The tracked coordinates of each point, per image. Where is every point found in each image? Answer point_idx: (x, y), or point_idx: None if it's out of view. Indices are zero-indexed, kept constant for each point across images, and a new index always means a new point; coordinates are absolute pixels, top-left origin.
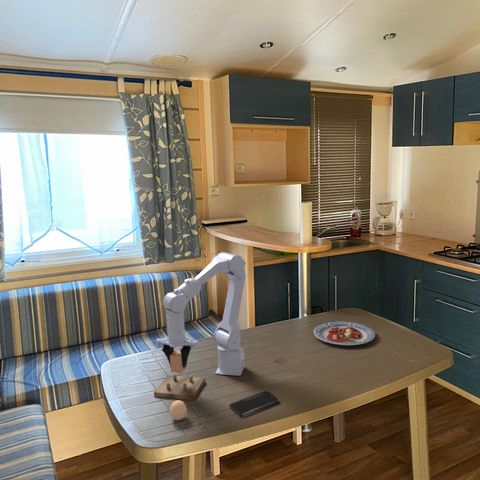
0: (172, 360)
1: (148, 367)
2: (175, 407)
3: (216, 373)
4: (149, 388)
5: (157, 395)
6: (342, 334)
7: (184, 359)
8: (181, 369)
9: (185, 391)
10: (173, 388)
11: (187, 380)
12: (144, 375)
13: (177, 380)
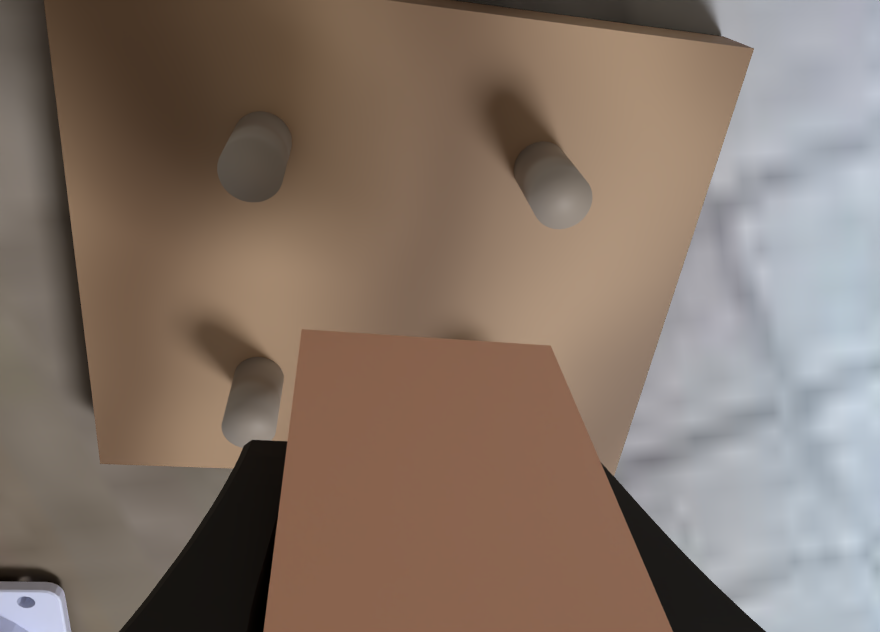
0: (566, 546)
1: (830, 612)
2: None
3: (41, 586)
4: (801, 239)
5: (680, 31)
6: None
7: (164, 601)
8: (305, 375)
9: (242, 97)
10: (465, 178)
11: None
12: (867, 487)
13: None
